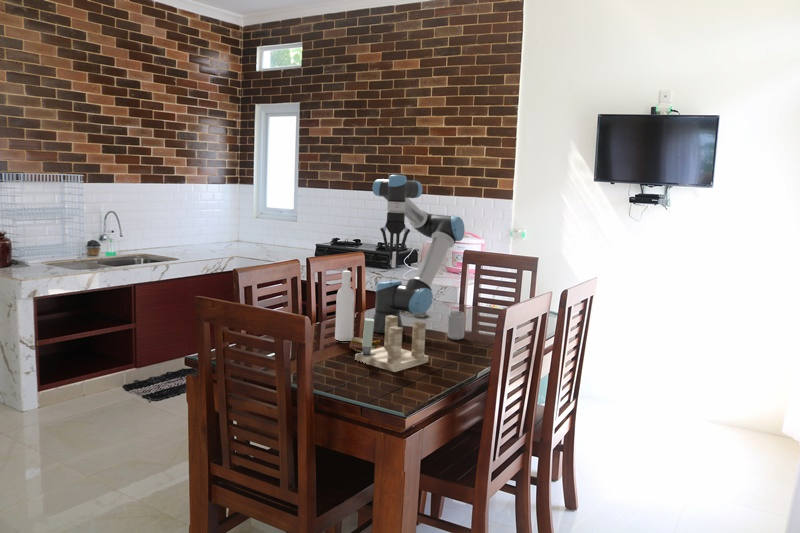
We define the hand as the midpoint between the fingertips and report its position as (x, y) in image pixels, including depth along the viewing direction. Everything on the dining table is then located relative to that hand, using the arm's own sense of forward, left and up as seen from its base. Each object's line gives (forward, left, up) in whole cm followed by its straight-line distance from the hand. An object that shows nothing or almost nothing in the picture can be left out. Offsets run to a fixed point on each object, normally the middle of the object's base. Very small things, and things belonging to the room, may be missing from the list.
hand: (393, 267), depth 273 cm
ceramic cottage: (-32, +54, -33) cm, 71 cm away
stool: (+21, -23, -32) cm, 45 cm away
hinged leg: (+14, -30, -30) cm, 44 cm away
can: (+15, +28, -33) cm, 46 cm away
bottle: (-14, -14, -33) cm, 38 cm away
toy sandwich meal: (+3, -19, -33) cm, 38 cm away
